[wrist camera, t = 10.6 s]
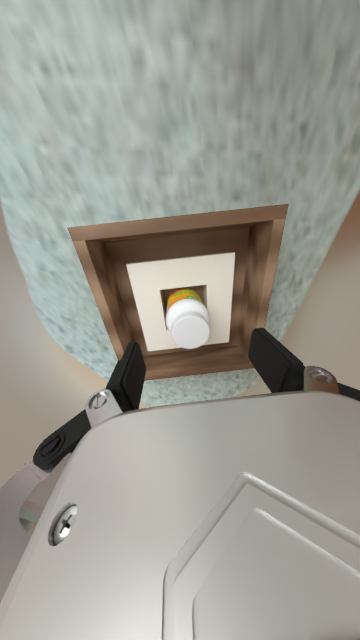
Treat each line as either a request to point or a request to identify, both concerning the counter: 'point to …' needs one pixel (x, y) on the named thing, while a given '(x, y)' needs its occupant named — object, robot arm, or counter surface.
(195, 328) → the supplement bottle
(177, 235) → the open box
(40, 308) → the counter surface
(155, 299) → the socket plate
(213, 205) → the counter surface
